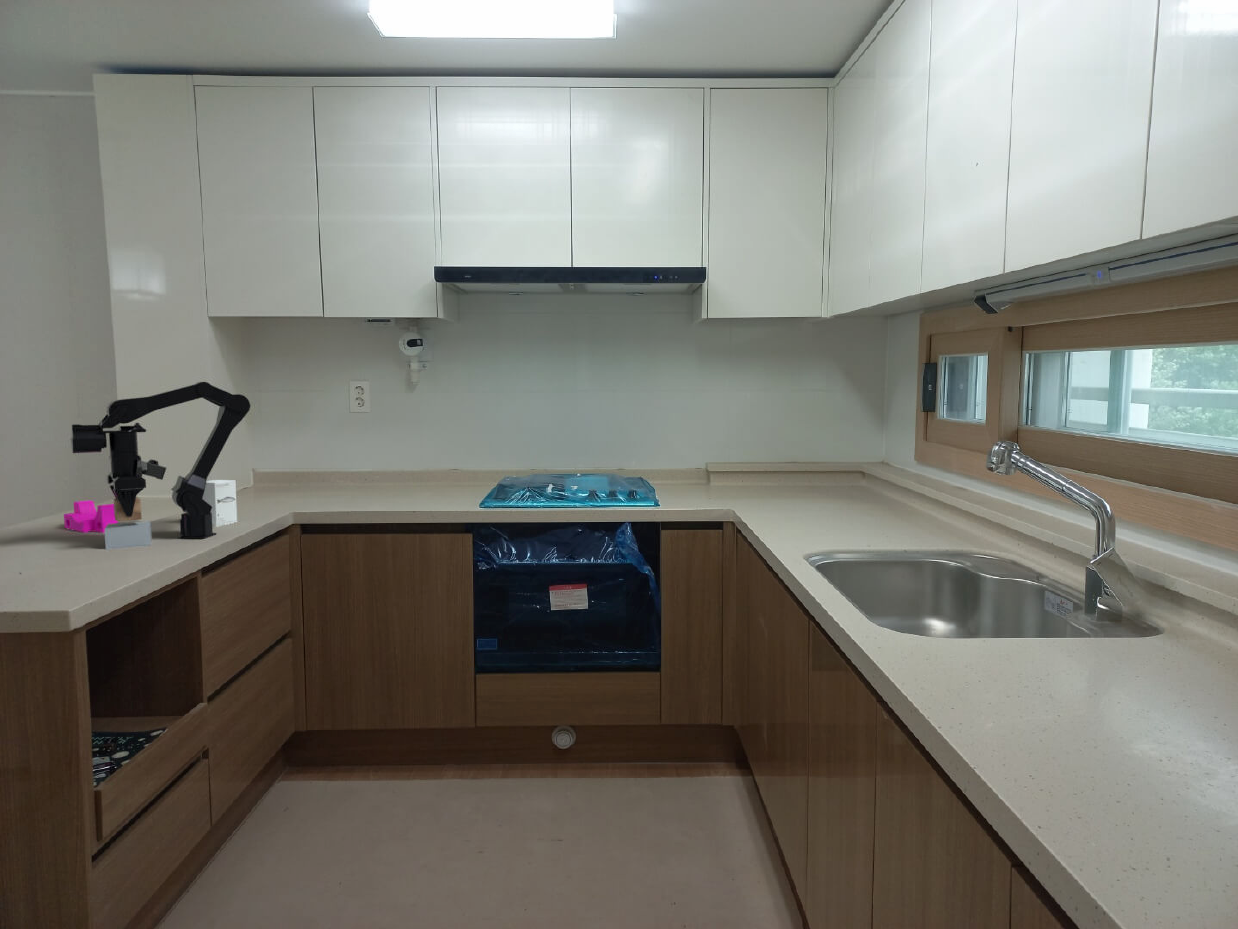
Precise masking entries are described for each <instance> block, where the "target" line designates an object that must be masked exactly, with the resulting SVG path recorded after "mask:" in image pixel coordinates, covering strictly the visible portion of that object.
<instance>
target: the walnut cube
mask: <svg viewBox="0 0 1238 929" xmlns="http://www.w3.org/2000/svg"><path fill="white" fill-rule="evenodd" d="M113 504H114V514H115V520H116V521H118V522H128V521H138V520H142V506H141V505H142V504H141V498H139V496H136V499H135V504H134V509H133V514H132V516H129V517H127V516H126V514H125V512H124V510H123V508H122V506H121V504H120V502H119V500H118V498H113Z"/></svg>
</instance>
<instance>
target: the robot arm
mask: <svg viewBox="0 0 1238 929" xmlns="http://www.w3.org/2000/svg"><path fill="white" fill-rule="evenodd" d="M201 398H202V399H204V400H206V401H208V402H209V403H212V404H214V405H216V406H218V407H219V408H218V411H217V417H216V422H215V425H214V426H213V428H212V430H211V431H210V434H209V436H208V438H207V440H206V441H205V443H204V444H203V447H202V449H201V451H200V453H199V455H198V456H197V458H196V460H195V462H194V464H193V466H192V468H191V469H190V471H189V473H187V474H186V476H185V477H184V476H182V475H178V476H177V479H176V482H175V484H174V486H172V488H171V491H172V494H171V497H172V498H171V500H172V501H173V503H174V504H175V505H176V506H177V507H180V509H182V512H183V513H181V514H180V516H181V517H180V518H181V519H180V520H179V526H180V536H177V538H178V540H180V539H181V540H183V539H184V540H185V539H186V540H191V539H192V540H203V539H206V538H209V537H213V536H216V535H217V532H213V530H214V529H213V527H212V512H211V509H212V506H211V505H210V504H208V503H207V502H206V501H204V500H203V499H202V498H203V495H204V491H205V486H206V481H208V477H209V476H210V473H211V472H212V469H213V468H214V466H215V464H216V462H217V460H218V458H219V456H220V454H221V452H222V450H223V448H224V447H225V445H226V442H227V441H228V439H229V437H230V435H231V433H232V431H233V430H234V429H235V427H237V426H238V425H239V424H240V423H241V421H242V420H243V419H244V418H245V417H246V415H248V412H249V411H250V409H251V403H250V400H249V399H248V398H247V397H246V395H243V394H239V393H237V394H235V393H234V394H232V393H231V392H228V391H226V390H223V389H221V388H219V387H217V386H214V385H212V384H211V383H209V382H207V381H198V382H196V383H194V384H192V385H191V384H190V385H186V386H183V387H179V388H176V389H172V390H169V391H168V390H167V391H164V392H160V393H156V394H153V395H149V396H142V397H140V396H139V397H131V398H130V397H129V398H122V399H115V400H113V401H111V402H109V403H108V405H107V407H106V415H105V416H104V417H103V418H102V419H101V420H99V423H98V424H80V423H79V424H77V423H76V424H74V423H73V424H71V438H70V442H71V443H70V444H71V445H70V446H71V452H72V454H89V453H102V449H106V448H107V446H108V445H107V441H109V455H108V456H109V461H110V472H109V473H108V474H107V475H106V480H107V481H106V483H107V484H109V485H108V487H109V489H110V490H111V492H112V494H113V496H114V499H116V498H118V500H119V502H120V504H121V506H122V508H123V510H124V512H125V514H126V516H127V517H129V516H132V514H133V509H134V504H135V499H136V497H137V495H138V494H140V493H141V492H142V491H143V490H144V489H146V488H147V481H146V478H144V477H143V475H144V476H149V477H152V478H156V479H157V480H160V481H161V480H164V479H163V478H164V476H165V473H166V470H167V467H166V466H163V465H160V464H159V461H158V460H156V459H149V460H148V461H144V460H142V457H141V456H140V455H139V445H138V444H139V442H138V433H146V432H147V429H146V428H144V427H142V425H141V424H140V423H139V422H135V423H134V424H133V425H123V424H129V423H132V422H134V421H136V420H138V419H140V418H142V417H144V416H146V415H148V414H150V413H152V412H155V411H157V410H162V409H165V408H169V407H172V406H176V405H179V404H184V403H187V402H190V401H194V400H195V401H196V400H199V399H201ZM119 424H122V425H119ZM116 426H119V427H118V430H116V429H114V430H104V429H113V428H114V427H116ZM107 434H108V440H107ZM112 483H113V484H112ZM111 484H112V485H111Z"/></svg>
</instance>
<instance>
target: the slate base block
mask: <svg viewBox="0 0 1238 929" xmlns="http://www.w3.org/2000/svg"><path fill="white" fill-rule="evenodd" d="M152 539H153V538H152V521H151V520H147V521H146V520H143V521H130V522H128V521H127V522H118V523H114V524H108V525H107V526H106V528H105V533H104V540H105V541H104V542H105V544H104V545H105V550H111V549H112V550H113V549H125V548H137V547H148V546H151V544H152Z"/></svg>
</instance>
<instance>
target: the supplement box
mask: <svg viewBox="0 0 1238 929" xmlns="http://www.w3.org/2000/svg"><path fill="white" fill-rule="evenodd" d="M236 483H237V482H236V480H233V479H232V480H231V479H212V480H207V481H206V486H205V491H204V495H203V498H202V499H203V500H204V501H206V502H207V503H208V504H210V505H211V506H212V509H211V512H212V528H213V527H214V528H218V527H223V526H226V525H231V524H235V523H234V522H236V523H238V510H237V509H238V508H237V485H236ZM230 523H231V524H230Z"/></svg>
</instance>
